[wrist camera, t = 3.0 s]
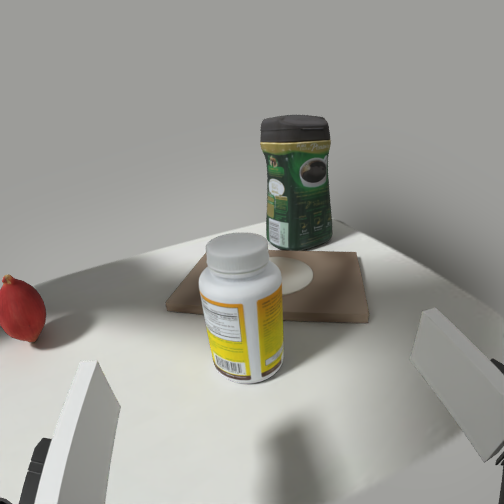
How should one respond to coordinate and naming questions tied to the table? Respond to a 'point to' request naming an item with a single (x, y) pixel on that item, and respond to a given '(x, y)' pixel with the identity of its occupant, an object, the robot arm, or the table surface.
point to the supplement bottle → (243, 307)
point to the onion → (21, 310)
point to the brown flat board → (299, 287)
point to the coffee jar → (297, 181)
